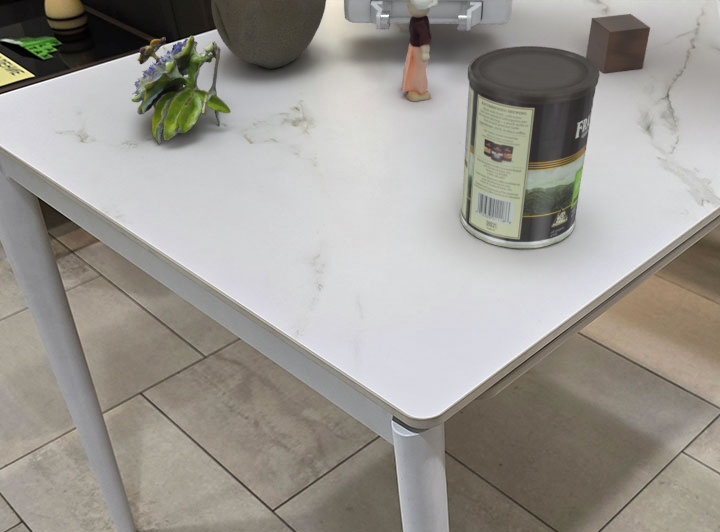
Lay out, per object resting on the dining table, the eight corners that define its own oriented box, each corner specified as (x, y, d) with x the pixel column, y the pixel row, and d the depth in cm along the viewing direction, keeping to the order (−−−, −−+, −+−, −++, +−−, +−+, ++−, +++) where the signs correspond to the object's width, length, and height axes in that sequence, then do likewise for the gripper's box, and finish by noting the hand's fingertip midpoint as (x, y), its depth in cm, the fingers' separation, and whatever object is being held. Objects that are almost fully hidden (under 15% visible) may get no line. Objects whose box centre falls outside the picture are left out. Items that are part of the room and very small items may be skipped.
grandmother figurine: (391, 84, 102) (392, -25, 94) (422, 80, 102) (425, -29, 95) (411, 110, 96) (414, -4, 88) (444, 106, 96) (449, -8, 89)
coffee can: (574, 193, 80) (597, 46, 71) (576, 254, 72) (602, 98, 63) (464, 185, 82) (473, 42, 73) (453, 244, 74) (462, 91, 65)
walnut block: (623, 53, 106) (630, 13, 103) (642, 68, 102) (650, 27, 99) (585, 58, 105) (591, 17, 102) (603, 73, 102) (610, 32, 99)
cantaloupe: (322, 84, 103) (316, -46, 94) (208, 83, 104) (191, -44, 95) (335, 41, 114) (330, -78, 105) (231, 41, 115) (218, -76, 106)
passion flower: (169, 157, 101) (167, 55, 101) (251, 150, 97) (250, 44, 97) (112, 142, 90) (110, 29, 90) (202, 134, 86) (200, 15, 86)
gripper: (350, -40, 109) (333, -5, 98) (513, -40, 106) (514, -4, 95) (351, 9, 113) (335, 48, 102) (509, 11, 109) (509, 51, 98)
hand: (423, 23), depth 98 cm, fingers open, 8 cm apart
